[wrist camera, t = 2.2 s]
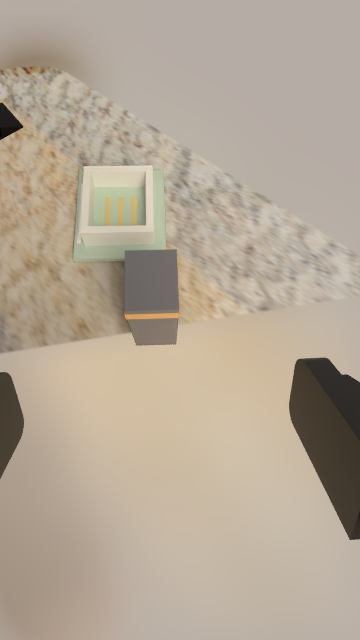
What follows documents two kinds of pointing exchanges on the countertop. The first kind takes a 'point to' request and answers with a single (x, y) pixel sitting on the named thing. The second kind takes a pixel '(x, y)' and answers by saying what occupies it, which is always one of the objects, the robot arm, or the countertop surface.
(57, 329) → the countertop surface
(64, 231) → the countertop surface
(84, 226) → the board
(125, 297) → the plug
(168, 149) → the countertop surface
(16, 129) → the black bracket plate
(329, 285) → the countertop surface
